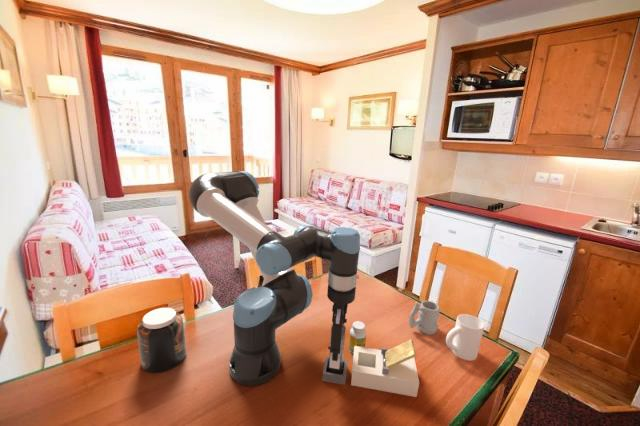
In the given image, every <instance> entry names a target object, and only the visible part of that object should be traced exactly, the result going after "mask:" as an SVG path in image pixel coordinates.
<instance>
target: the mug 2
mask: <svg viewBox="0 0 640 426" xmlns="http://www.w3.org/2000/svg"><path fill="white" fill-rule="evenodd" d="M484 329H485V324H484V321H483V320H482V319H480V318H478V317H476V316H475V315H471V314H467V313H460V314H458V316H456V321H455V326H454V327H453V328H451V329H450V330H449V331H448V333H446V334H447V335H446V338H445V344H446V346H447V347H448V349H450V350H451V351H452V353H453V354H454V355H455V356H456V357H458V358H459V359H461V360H464V361H469V362H470V361H472V362H473V361H475V360H476V359H477V358H478V355H479V350H480V347H481V346H480V345H481V342H482V337H483V334H484Z"/></svg>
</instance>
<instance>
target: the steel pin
mask: <svg viewBox="0 0 640 426" xmlns="http://www.w3.org/2000/svg"><path fill="white" fill-rule="evenodd" d="M332 327H333V324H332V325H331V329H330V339H331V338H332ZM346 330H347V329H346V326H345V324H344V325H343V327H342V337H341V355H340V367H339V369H335V368H329V367H327V372H329V373H335V374H340V375H343V368H342V364H343V360H344V351H345V339H346ZM329 342H330V344H329V346H331V340H330V341H329ZM328 357H329V365H330V354H329V356H328Z"/></svg>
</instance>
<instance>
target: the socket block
mask: <svg viewBox="0 0 640 426" xmlns="http://www.w3.org/2000/svg"><path fill="white" fill-rule="evenodd" d="M387 350H388V347H386V346H382V347H381V349H377V348H371V347H366V346H365V347H359V346H354V354H352V356H353V357H352V370H351V379H350V380H351V384H350V386H353V387H354V386H355V387H360V388H365V389H371V390H376V391H380V392H381V391H382V392H387V393H392V394H398V395H403V396H408V397H414V398H418V397H417V396H418V391H419V385H420V380H419V376H418V370H417V365H416V359H415V357H413V358H411V359H409V360H407V361H404V362H402V363H400V364H398V365H396V366H393V367H391V368H389V367H384V366H383V352H385V351H387Z"/></svg>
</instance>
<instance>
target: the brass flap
mask: <svg viewBox="0 0 640 426" xmlns="http://www.w3.org/2000/svg"><path fill="white" fill-rule="evenodd" d="M416 356H417V355H416V350H415V346H414V341H413V339H408V340H406V341H404V342H402V343H400V344H398V345H396V346H394V347H392V348H390V349H387V351H385V352H383V366H384V367H389V368H391V367H393V366H396V365H398V364H400V363H402V362H404V361H407V360H409V359H411V358H413V357H414V358H415V357H416Z"/></svg>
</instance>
